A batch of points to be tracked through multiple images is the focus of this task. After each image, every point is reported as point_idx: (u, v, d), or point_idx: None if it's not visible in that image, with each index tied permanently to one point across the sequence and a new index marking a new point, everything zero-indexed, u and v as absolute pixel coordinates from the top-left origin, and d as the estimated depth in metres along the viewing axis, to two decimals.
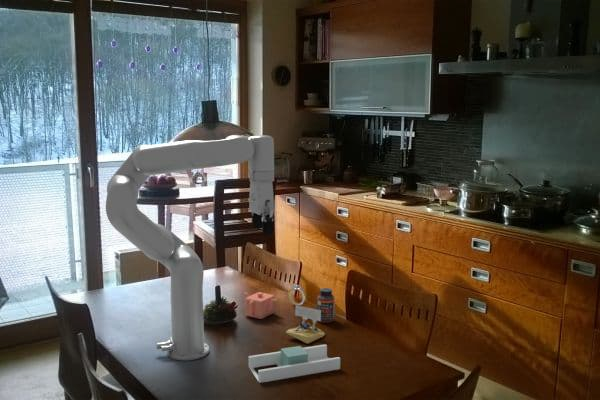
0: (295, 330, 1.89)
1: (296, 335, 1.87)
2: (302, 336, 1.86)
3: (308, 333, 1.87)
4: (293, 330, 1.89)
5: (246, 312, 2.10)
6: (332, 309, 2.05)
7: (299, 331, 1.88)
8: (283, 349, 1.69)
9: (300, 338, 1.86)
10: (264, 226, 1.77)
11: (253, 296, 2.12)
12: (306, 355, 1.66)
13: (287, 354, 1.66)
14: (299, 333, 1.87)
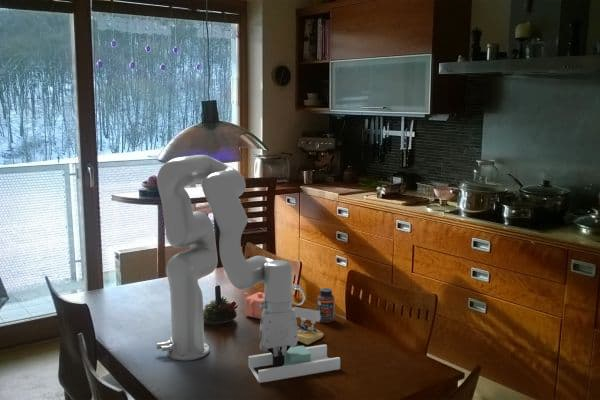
0: None
1: None
2: (302, 337, 1.85)
3: (308, 334, 1.87)
4: None
5: (246, 312, 2.10)
6: (332, 309, 2.05)
7: (299, 332, 1.87)
8: None
9: (300, 339, 1.85)
10: None
11: (253, 296, 2.12)
12: (309, 355, 1.66)
13: (290, 354, 1.66)
14: (299, 334, 1.86)
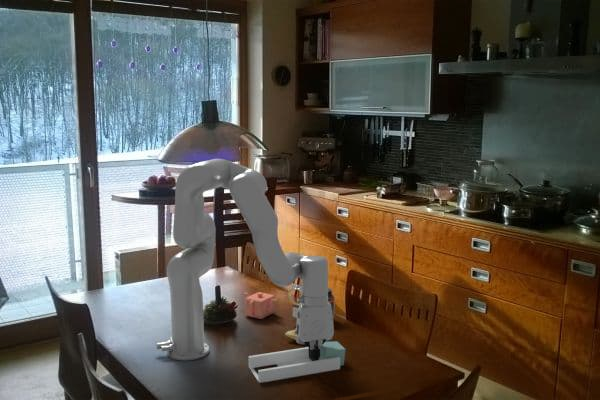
0: (294, 332, 1.87)
1: (296, 337, 1.86)
2: None
3: None
4: (292, 332, 1.88)
5: (246, 312, 2.10)
6: (332, 309, 2.05)
7: None
8: None
9: None
10: None
11: (253, 296, 2.12)
12: (344, 350, 1.70)
13: (325, 347, 1.70)
14: None
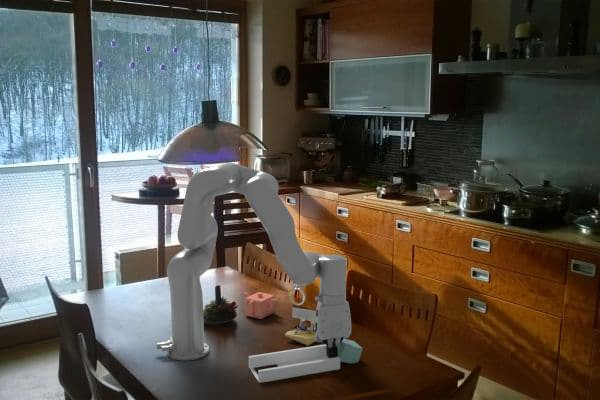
0: (294, 332, 1.87)
1: (296, 337, 1.85)
2: (302, 338, 1.84)
3: (308, 335, 1.86)
4: (292, 332, 1.87)
5: (246, 312, 2.10)
6: None
7: (298, 333, 1.86)
8: None
9: (300, 340, 1.85)
10: None
11: (253, 296, 2.12)
12: (361, 349, 1.72)
13: (344, 343, 1.72)
14: (299, 335, 1.86)
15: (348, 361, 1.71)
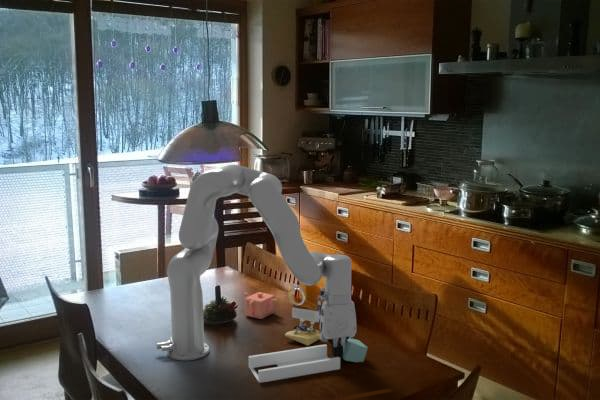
0: (294, 332, 1.87)
1: (296, 337, 1.85)
2: (302, 338, 1.84)
3: (308, 335, 1.86)
4: (292, 332, 1.87)
5: (246, 312, 2.10)
6: None
7: (298, 333, 1.86)
8: None
9: (300, 340, 1.84)
10: None
11: (253, 296, 2.12)
12: (366, 348, 1.73)
13: (349, 342, 1.72)
14: (299, 335, 1.85)
15: (353, 360, 1.72)
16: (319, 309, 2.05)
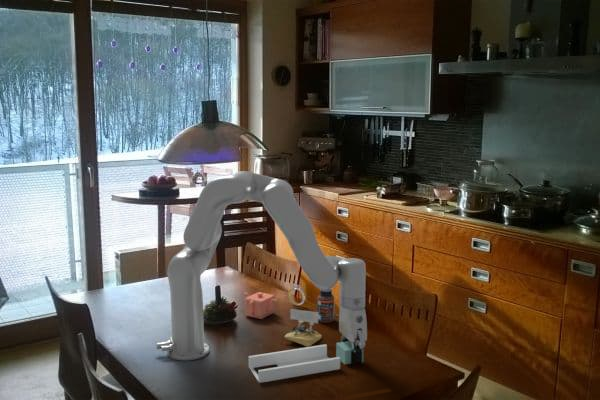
0: (294, 334, 1.86)
1: (296, 339, 1.84)
2: (302, 340, 1.83)
3: (308, 336, 1.85)
4: (292, 334, 1.86)
5: (246, 312, 2.10)
6: (332, 309, 2.05)
7: (298, 335, 1.85)
8: (339, 343, 1.75)
9: (300, 342, 1.83)
10: None
11: (253, 296, 2.12)
12: None
13: (344, 348, 1.72)
14: (299, 337, 1.84)
15: None
16: (319, 309, 2.05)
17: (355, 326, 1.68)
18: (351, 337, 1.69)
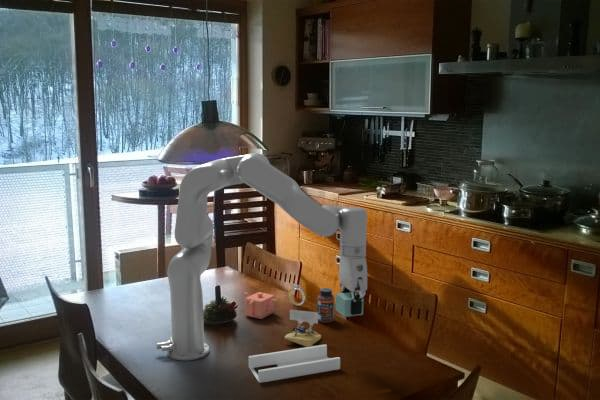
0: (294, 335, 1.85)
1: (296, 340, 1.83)
2: (303, 340, 1.83)
3: (308, 337, 1.85)
4: (291, 335, 1.85)
5: (246, 312, 2.10)
6: (332, 309, 2.05)
7: (298, 335, 1.84)
8: (338, 294, 1.73)
9: (301, 342, 1.83)
10: None
11: (253, 296, 2.12)
12: None
13: (343, 298, 1.70)
14: (299, 337, 1.84)
15: None
16: (319, 309, 2.05)
17: (355, 275, 1.66)
18: (351, 286, 1.67)
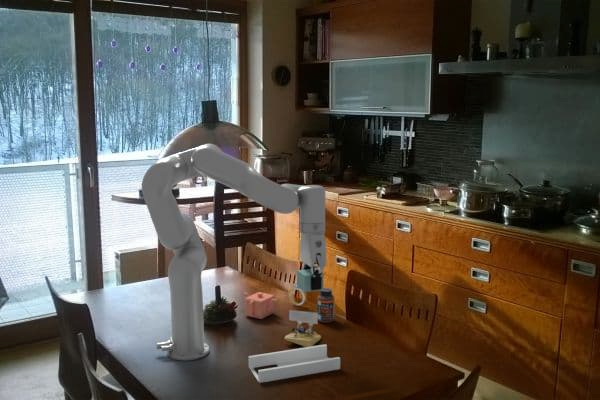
0: (294, 335, 1.85)
1: (296, 340, 1.83)
2: (303, 341, 1.82)
3: (308, 337, 1.84)
4: (291, 335, 1.85)
5: (246, 312, 2.10)
6: (332, 309, 2.05)
7: (298, 336, 1.84)
8: (299, 270, 1.77)
9: (301, 343, 1.82)
10: None
11: (253, 296, 2.12)
12: (322, 275, 1.74)
13: (304, 274, 1.74)
14: (299, 338, 1.83)
15: None
16: (319, 309, 2.05)
17: (314, 250, 1.70)
18: (310, 262, 1.71)
